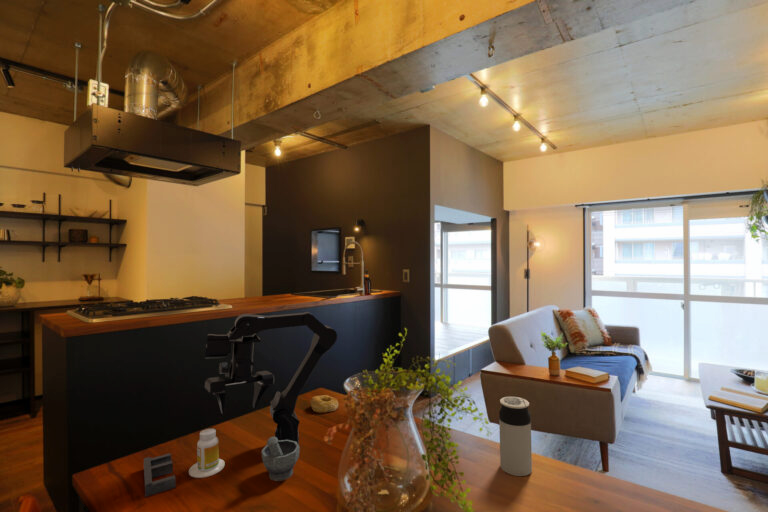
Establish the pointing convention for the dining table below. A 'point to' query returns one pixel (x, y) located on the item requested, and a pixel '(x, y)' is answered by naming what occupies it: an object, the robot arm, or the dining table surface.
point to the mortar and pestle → (280, 458)
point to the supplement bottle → (207, 450)
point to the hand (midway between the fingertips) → (238, 410)
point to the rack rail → (158, 474)
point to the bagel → (324, 404)
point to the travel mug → (515, 436)
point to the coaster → (200, 474)
